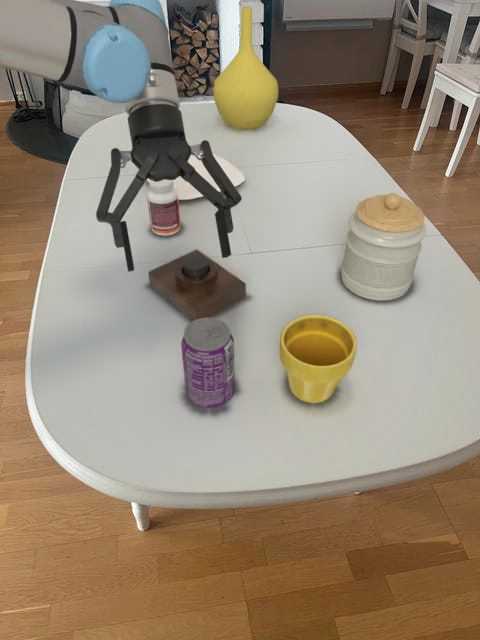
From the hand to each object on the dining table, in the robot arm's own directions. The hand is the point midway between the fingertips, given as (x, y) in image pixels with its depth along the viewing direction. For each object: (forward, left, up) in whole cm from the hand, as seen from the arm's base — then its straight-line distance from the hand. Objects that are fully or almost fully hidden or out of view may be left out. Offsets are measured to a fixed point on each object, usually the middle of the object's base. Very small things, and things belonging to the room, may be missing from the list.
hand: (180, 263), depth 73 cm
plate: (-45, +36, -16) cm, 60 cm away
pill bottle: (-31, +18, -16) cm, 39 cm away
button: (-10, +10, -12) cm, 18 cm away
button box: (-10, +10, -16) cm, 21 cm away
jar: (+9, +37, -16) cm, 41 cm away
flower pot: (+19, +9, -16) cm, 27 cm away
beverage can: (+10, -3, -16) cm, 19 cm away
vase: (-63, +69, -16) cm, 95 cm away
